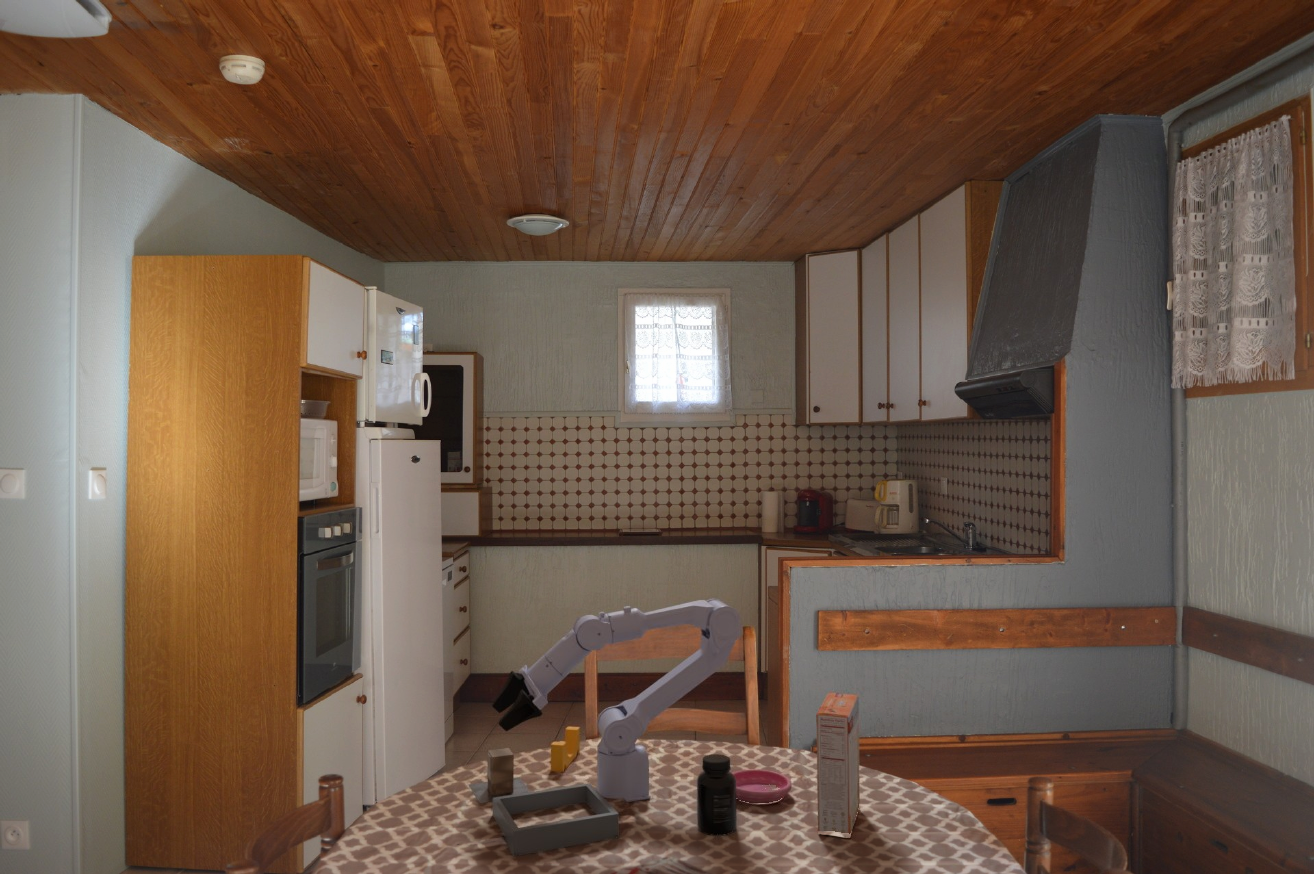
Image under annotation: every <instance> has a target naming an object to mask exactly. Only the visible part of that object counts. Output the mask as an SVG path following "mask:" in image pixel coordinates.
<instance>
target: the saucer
mask: <svg viewBox="0 0 1314 874" xmlns="http://www.w3.org/2000/svg"><path fill="white" fill-rule="evenodd" d="M731 773H732V774H733V775H734V776H735V778H736V798H738V799H739V800H741V801H745V802H749V803H769V802H773V801H778V800H780V799H781V798H783V797H784V798H785V797H786V796H788V794H789V792H790V791H791V790H792V786H793V785H792V784H793V783H792V781H791V779H790V778H789V777H788V776H787V775H784V774H782V773H780V772H777V771H773V770H766V769H758V768H757V769H754V768H751V769H743V770H742V769H741V770H737V771H733V772H731ZM769 784H770V785H776V788H777V787H778V788H780V789H778V790H774V791H769V790H772V789H768V788H772V787H767V786H766V787H765V786H762V785H769ZM765 788H766V789H765ZM784 798H783V799H784ZM739 800H738V801H739ZM741 801H740V802H741Z"/></svg>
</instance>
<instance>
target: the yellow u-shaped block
mask: <svg viewBox="0 0 1314 874" xmlns="http://www.w3.org/2000/svg"><path fill="white" fill-rule="evenodd" d="M580 731H581V727H580V726H567V727H566V728H565V731H564V732H565V733H564V735H565V736H564V740H560V741H553V742H552V743H551V744H550V772H559V773H561V772H562V773H564V771H565V769H567V768H568V767H569V766H570V764H571V763H572V762H573V761H574V760H575V758H576V757H577V755H578V754H579V756H580V745H581V736H580V735H581V733H580Z"/></svg>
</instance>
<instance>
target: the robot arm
mask: <svg viewBox="0 0 1314 874" xmlns="http://www.w3.org/2000/svg"><path fill="white" fill-rule="evenodd" d="M682 625H691V626H693V627H696V628H697V629H700V631H701V634H700V643H699V644H700V645H699V649H698V650H696V651H695V652H694V653H692V654H691V655H690V656H689V657H687V658H686V659H685V660H683V661H682V662H680V663H679V664H678V665H676V666H675V667H674V668H673V669H671V670H669V672H667V673H665V675H663V676H662V677H661V678H659V679H658V680H656V681H655V682H654V683H652V685H650V686H649V687H648V688H646V689H645V690H643V691H642V692H641V693H639V694H638V695H637V696H635V697H632V698H629V699H626V700H623V701H622V702H620V703H619V704H618V705H613V706H609V707H606V708H604V709H603V710H602V711H601V712H600V714H599V715H598V718H597V719H596V720H597V721H596V726H597V727H596V728H597V730H598V733H599V734H600V736H601V738H600V741H599V743H598V744H597V753H596V755H597V756H596V757H597V759H596V760H597V761H596V762H597V763H596V765H597V767H596V770H597V771H596V772H597V774H596V776H597V778H596V790H597V791H598V792H599V793H600V794H601V796H602V797H603V798H605V799H606V798H607V799H615V800H616V799H624V801H626V803H630V802H637V801H643V800H649V799H651V794H650V761H649V755H648V751H647V749H646V747H645V746H644V745H642V744H638V745H636V743H637V740H638V739H639V738H640V737H641V736H642V735H643V734H645V732H646V731H647V729H648V727H649V725H650V723H651V721H653V720H654V719H656V717H658V716H659V715H660V714H662V713H663V712H664V711H666V710H667V709H668V708H670V707H671V706H672V705H674V704H675V703H676V702H677V701H679V700H680V699H682V698H684V696H686V695H687V694H688V693H689V692H691V691H693V690H694V689H695V688H696V687H698V686H699V685H700V684H701V683H703V682H704V681H705V680H707V679H708V678H710V676H712V675H713V674H715V672H717V671H718V670H721V668H723V667H724V666H725V664H726V663H727V661H728V659H729V657H730V655H731V652H732V650H733V648H734V646H735V644H736V642H737V640H739V639H740V637H741V636H742V617H741V614H740V612H739V611H738V610H737V609H736V608H734V607H732V606H729V605H728V604H726V603H725V602H724V601H723V600H721V599H718V598H710V599H707V600H705V599H698V600H694V601H689V602H686V603H681V604H676V605H672V606H668V607H663V608H661V609H660V608H659V609H655V610H650V611H647V612H643V611H641V610H640V609H639V608H637V607H634V608H632V607H631V606H630V605H626V606H623V610H619V611H618V610H617V611H612V612H607V613H605V611H599V612H598V616H597V615H593V614H587V615H583V616H581V617H577V619H576V620H575V622H574V624H573V627H572V629H571V630H570V631H569V632H567V634H565V636H564V637H562V638H560V639H559V640H558V641H557V642H556V643H555V644H554V645H553V646H552V647H551V648H550V649H548V650H547V651H546V652H545V653H544V654H543V655H542V656H541V657H540V658H538V660H537V661H536V662H535V663H534V664H532V666H530V667H529V666H528V665H527V664H525V665H524V666H523V667H521V668H520V669H519V670H518V674H517V673H516V672H515V671H514V670H511V671H510V672H509V674H508V678H507V679H506V680H507V681H506V682H505V684H504V686H503V688H502V689H501V691H500V692H499V694H498V695H497V697H496V698H495V699H494V701H493V702H492V705H491V706H492V708H493V709H495V711H496V712H497V713H498V714H500V713H503V712H504V711H505V710H507V709H508V708H509V709H508V710H507V711H506V712H505V714H504V715H503V716H502V717H501V719H499V721H498V725H499V726H500V728H502V729H503V730H504V731H505V732H508V731H510V730H512V729H513V728H515V727H517V726H519V725H520V724H522V723H524V722H526V721H529V720H531V719H534V718H535V719H536V718H540V717H541V716H542V715H543V711H542V709H543V708H544V707H545V706H547V705H548V703H549V701H548V694H549V693H550V692H551V691H552V690H553V689H554V688H555V687H557V685H559V683H560V682H562V681H563V680H564V679H565V678H566V677H567V676H568V675H569V674H570V673H571V672H572V671H573V670H574V669H575V668H576V667H577V666H579V665H580V664H581V663H582V662H583V660H584V659H586V657H587V656H589V655H590V653H592V651H597V652H598V651H601V650H602V649H603V648H604V647H606V645H607V644H608V645H612V644H617V643H621V642H622V643H624V642H628V641H633V640H638V639H641V638H643V637H644V635H645V634H646V632H647V631H650V630H656V629H662V628H663V629H664V628H669V627H676V626H682Z"/></svg>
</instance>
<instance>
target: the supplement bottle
mask: <svg viewBox="0 0 1314 874" xmlns="http://www.w3.org/2000/svg"><path fill="white" fill-rule="evenodd" d="M701 767H702V769H701V770H702V772H700V773H699V774H698V776H697V779H696V803H697V804H696V808H697V809H696V811H697V812H696V815H697V819H696V820H697V822H696V823H697V828H698V829H699V831H701V832H702V833H704V834H706V833H707V835H710V834H712V835H711V836H725V835H724V834H726V835H729V834H732V833H733V832H735V830H736V829H737V823H738V822H737V817H738V816H737V812H738V811H737V807H738V806H737V799H736V778H735V776H734V775H733V774H732V773H733V772H731V768H732V767H731V758H730V756H728V755H725V754H721V753H720V754H719V753H713V754H707V755H704V756H703V757H702V766H701ZM732 831H733V832H732ZM731 832H732V833H731ZM728 833H729V834H728Z"/></svg>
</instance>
